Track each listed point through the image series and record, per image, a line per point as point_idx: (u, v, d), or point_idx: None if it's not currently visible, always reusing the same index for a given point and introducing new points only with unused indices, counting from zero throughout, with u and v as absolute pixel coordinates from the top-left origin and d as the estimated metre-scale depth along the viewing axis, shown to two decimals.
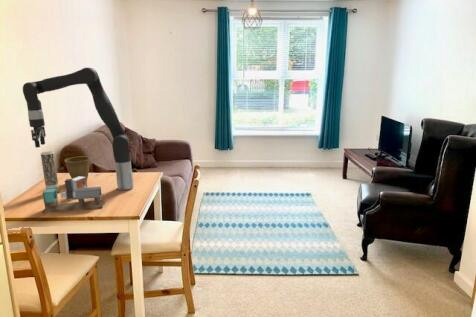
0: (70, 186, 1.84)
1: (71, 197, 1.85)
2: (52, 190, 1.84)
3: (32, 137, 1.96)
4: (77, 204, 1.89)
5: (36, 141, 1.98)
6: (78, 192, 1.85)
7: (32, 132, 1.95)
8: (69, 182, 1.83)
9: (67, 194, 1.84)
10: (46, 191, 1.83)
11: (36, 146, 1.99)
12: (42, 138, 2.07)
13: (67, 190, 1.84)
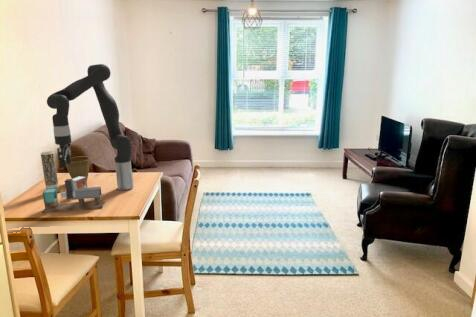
0: (70, 186, 1.84)
1: (71, 197, 1.85)
2: (52, 190, 1.84)
3: (58, 156, 1.74)
4: (77, 204, 1.89)
5: (62, 160, 1.77)
6: (78, 192, 1.85)
7: (59, 151, 1.74)
8: (69, 182, 1.83)
9: (67, 194, 1.84)
10: (46, 191, 1.83)
11: (62, 166, 1.77)
12: (68, 156, 1.86)
13: (67, 190, 1.84)
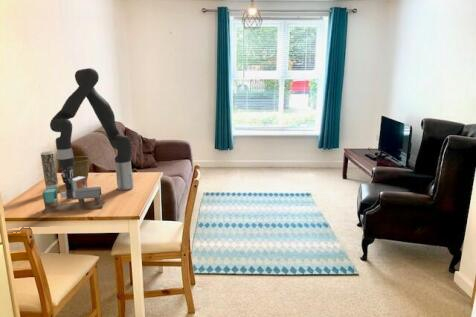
0: None
1: (71, 197, 1.85)
2: (52, 190, 1.84)
3: (63, 181, 1.79)
4: (77, 204, 1.89)
5: (67, 183, 1.82)
6: (78, 192, 1.85)
7: (63, 176, 1.78)
8: None
9: (67, 194, 1.84)
10: (46, 191, 1.83)
11: (67, 189, 1.83)
12: None
13: (67, 190, 1.84)
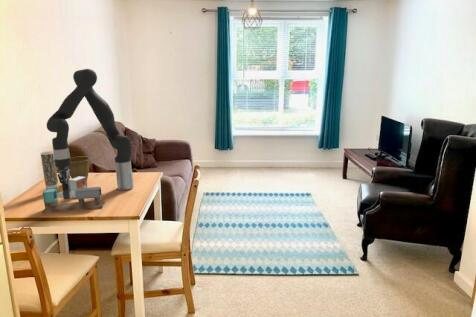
0: (67, 186, 1.84)
1: (68, 197, 1.85)
2: (52, 190, 1.84)
3: (60, 181, 1.79)
4: (77, 204, 1.89)
5: (64, 184, 1.82)
6: (78, 192, 1.85)
7: (59, 177, 1.77)
8: None
9: (64, 194, 1.84)
10: (46, 191, 1.83)
11: (64, 189, 1.83)
12: None
13: (64, 190, 1.84)
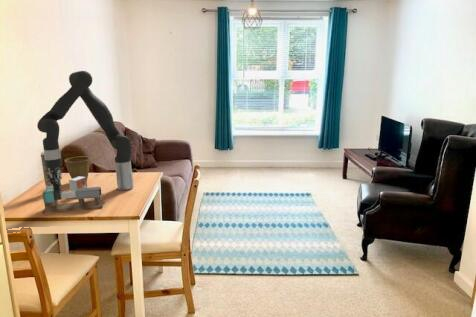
0: None
1: (59, 198, 1.84)
2: (52, 190, 1.84)
3: (50, 181, 1.78)
4: (77, 204, 1.89)
5: (55, 184, 1.81)
6: (78, 192, 1.85)
7: (50, 177, 1.77)
8: None
9: (55, 195, 1.83)
10: (46, 191, 1.83)
11: (55, 190, 1.82)
12: None
13: (55, 191, 1.83)
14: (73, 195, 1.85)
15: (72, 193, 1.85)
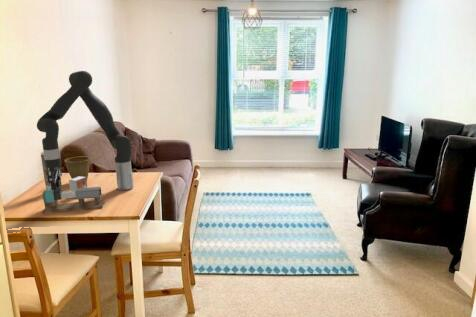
0: (58, 187, 1.83)
1: (59, 198, 1.84)
2: (52, 190, 1.84)
3: (48, 180, 1.76)
4: (77, 204, 1.89)
5: (52, 183, 1.78)
6: (78, 192, 1.85)
7: (48, 174, 1.76)
8: (57, 183, 1.82)
9: (55, 195, 1.83)
10: (46, 191, 1.83)
11: (52, 189, 1.79)
12: (58, 178, 1.87)
13: (55, 191, 1.83)
14: (73, 195, 1.85)
15: (72, 193, 1.85)
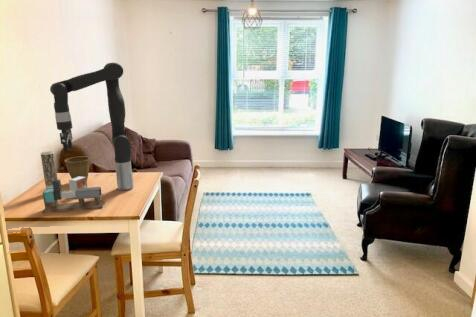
0: (58, 187, 1.83)
1: (59, 198, 1.84)
2: (52, 190, 1.84)
3: (61, 141, 1.86)
4: (77, 204, 1.89)
5: (65, 145, 1.89)
6: (78, 192, 1.85)
7: (61, 135, 1.86)
8: (57, 183, 1.82)
9: (55, 195, 1.83)
10: (46, 191, 1.83)
11: (65, 150, 1.89)
12: (69, 141, 1.97)
13: (55, 191, 1.83)
14: (73, 195, 1.85)
15: (72, 193, 1.85)
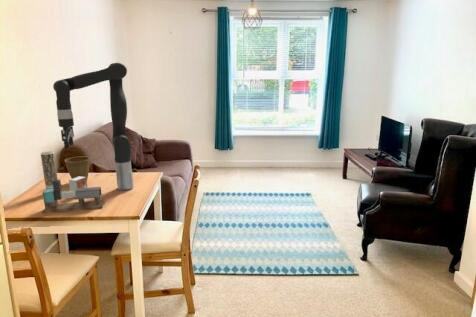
0: (58, 187, 1.83)
1: (59, 198, 1.84)
2: (52, 190, 1.84)
3: (62, 137, 1.88)
4: (77, 204, 1.89)
5: (66, 142, 1.90)
6: (78, 192, 1.85)
7: (62, 132, 1.87)
8: (57, 183, 1.82)
9: (55, 195, 1.83)
10: (46, 191, 1.83)
11: (65, 147, 1.91)
12: (70, 139, 1.99)
13: (55, 191, 1.83)
14: (73, 195, 1.85)
15: (72, 193, 1.85)
